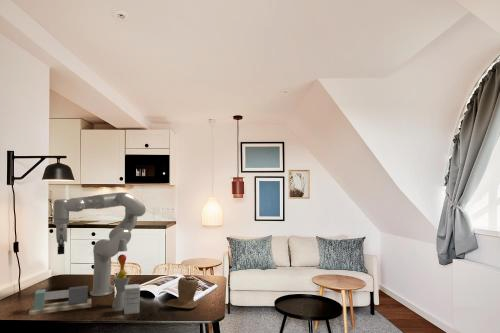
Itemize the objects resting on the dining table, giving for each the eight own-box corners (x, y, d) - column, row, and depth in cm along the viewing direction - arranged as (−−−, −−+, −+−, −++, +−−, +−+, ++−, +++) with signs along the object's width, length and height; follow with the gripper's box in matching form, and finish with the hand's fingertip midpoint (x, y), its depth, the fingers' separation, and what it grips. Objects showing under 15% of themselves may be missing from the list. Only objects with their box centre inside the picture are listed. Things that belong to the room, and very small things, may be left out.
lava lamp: (109, 304, 182) (112, 238, 185) (127, 301, 187) (129, 237, 190) (113, 309, 175) (115, 240, 178) (131, 306, 180) (133, 239, 183)
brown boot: (201, 304, 183) (202, 276, 185) (191, 311, 172) (191, 281, 173) (176, 301, 188) (177, 274, 189) (165, 308, 177) (165, 279, 178)
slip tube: (76, 294, 181) (76, 288, 182) (76, 296, 179) (76, 290, 179) (41, 298, 174) (41, 292, 175) (40, 300, 171) (40, 294, 172)
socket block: (44, 305, 176) (45, 289, 177) (43, 309, 170) (44, 292, 171) (35, 306, 175) (36, 290, 175) (33, 310, 168) (34, 293, 169)
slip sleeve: (87, 300, 184) (87, 285, 185) (87, 303, 180) (88, 287, 181) (68, 302, 180) (69, 287, 181) (68, 305, 176) (68, 289, 177)
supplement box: (123, 310, 174) (124, 284, 175) (138, 308, 177) (139, 283, 178) (123, 314, 167) (124, 288, 168) (139, 313, 170) (140, 287, 171)
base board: (91, 301, 187) (91, 298, 187) (91, 306, 178) (91, 304, 179) (31, 308, 175) (31, 305, 175) (28, 315, 166) (28, 312, 166)
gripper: (69, 222, 183) (68, 254, 182) (68, 219, 198) (68, 249, 197) (53, 223, 179) (52, 256, 179) (54, 220, 195) (53, 250, 194)
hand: (61, 252), depth 188 cm, fingers open, 9 cm apart
